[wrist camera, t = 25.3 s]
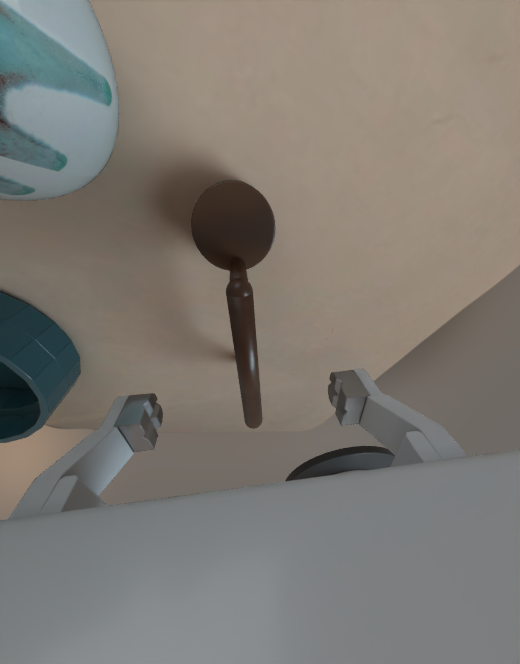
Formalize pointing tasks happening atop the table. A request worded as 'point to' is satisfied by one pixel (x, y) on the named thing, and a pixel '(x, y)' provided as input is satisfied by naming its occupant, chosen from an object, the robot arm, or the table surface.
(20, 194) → the vase
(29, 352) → the bowl
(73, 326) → the table surface
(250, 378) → the ladle
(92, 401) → the table surface
